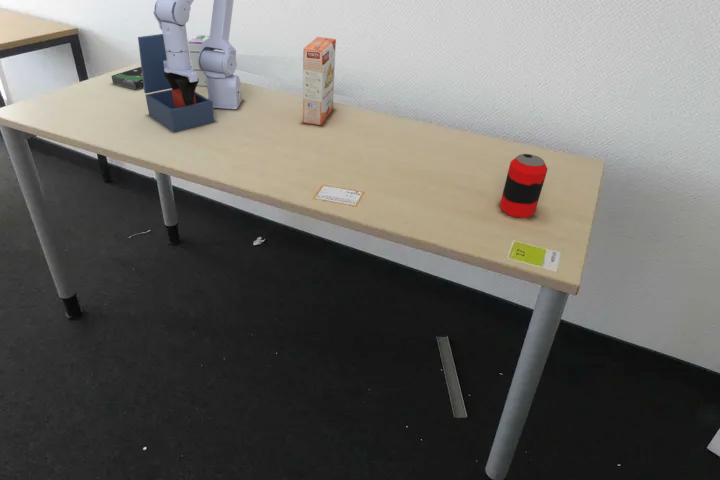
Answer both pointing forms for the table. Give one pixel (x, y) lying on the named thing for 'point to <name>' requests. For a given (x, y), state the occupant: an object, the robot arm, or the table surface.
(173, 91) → the block
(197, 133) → the table surface
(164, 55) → the lid
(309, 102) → the cracker box
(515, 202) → the soda can
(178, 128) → the toy box
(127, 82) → the disk drive
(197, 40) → the syrup box
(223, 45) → the robot arm
